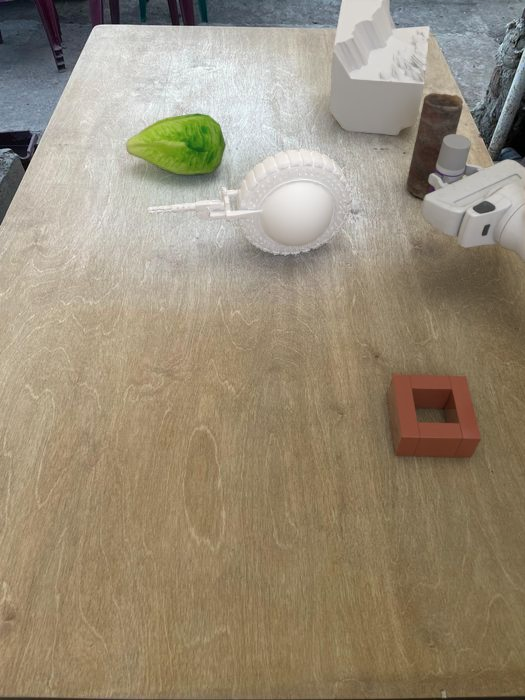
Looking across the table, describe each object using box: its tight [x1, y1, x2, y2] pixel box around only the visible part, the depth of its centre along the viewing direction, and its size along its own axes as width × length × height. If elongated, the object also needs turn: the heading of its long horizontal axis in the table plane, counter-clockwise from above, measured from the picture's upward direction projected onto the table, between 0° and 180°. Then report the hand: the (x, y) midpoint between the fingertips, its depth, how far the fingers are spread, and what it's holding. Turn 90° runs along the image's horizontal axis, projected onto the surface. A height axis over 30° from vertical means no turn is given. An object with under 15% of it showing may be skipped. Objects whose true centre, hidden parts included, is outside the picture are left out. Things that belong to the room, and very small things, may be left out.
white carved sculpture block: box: [328, 0, 431, 136], centre depth 137 cm, size 20×16×25 cm
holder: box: [386, 373, 482, 458], centre depth 90 cm, size 11×11×5 cm
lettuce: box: [125, 112, 226, 176], centre depth 128 cm, size 14×20×12 cm
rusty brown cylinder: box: [406, 92, 464, 200], centre depth 121 cm, size 8×7×20 cm
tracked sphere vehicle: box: [147, 148, 353, 257], centre depth 108 cm, size 35×14×20 cm, turn 100°
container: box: [429, 133, 472, 193], centre depth 106 cm, size 5×5×15 cm
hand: (444, 170), depth 106 cm, fingers closed on container, 4 cm apart
